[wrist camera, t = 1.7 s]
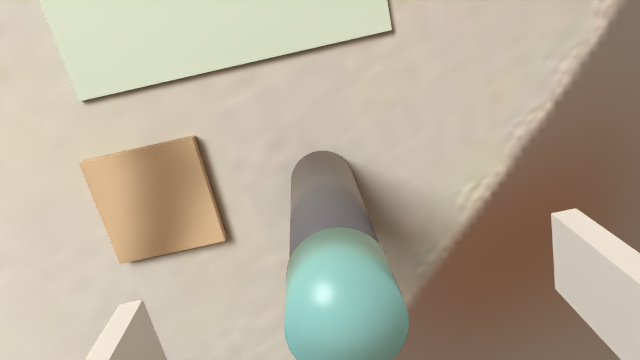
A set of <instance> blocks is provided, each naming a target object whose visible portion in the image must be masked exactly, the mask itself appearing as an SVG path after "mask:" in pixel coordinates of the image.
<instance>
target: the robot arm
mask: <svg viewBox="0 0 640 360" xmlns="http://www.w3.org/2000/svg"><path fill="white" fill-rule="evenodd" d="M551 218H552V237H553V254H554V274H555V289H556V290H557V291H558V292H559V293H560V294H561V295H562V296H563V297H564V299H565V300H566V301H567V302H568V303H569V304H570V305H571V306H572V307H573V308H574V309H575V310H576V311H577V313H578V314H579V315H580V316H581V317H582V318H583V319H584V320H585V321H586V322H587V323H588V325H589V326H590V327H591V328H592V329H593V330H594V331H595V332H596V333H597V334H598V335H599V336H600V338H601V339H602V340H603V341H604V342H605V343H606V344H607V345H608V346H609V347H610V348H611V349H612V350H613V351H614V353H615V354H616V355H617V356H618V357H619V358H620V359H621V360H640V253H638V252H637V251H636V250H634V249H633V248H631V247H630V246H628V245H627V244H626V243H624V242H623V241H621V240H620V239H619V238H617V237H616V236H614V235H613V234H611V233H610V232H608V231H607V230H605V229H604V228H603V227H601V226H600V225H599V224H597V223H596V222H594V221H593V220H592V219H590V218H589V217H587V216H586V215H585V214H583V213H582V212H580V211H579V210H577V209H571V210H566V211H561V212H556V213H552V214H551ZM85 360H167V359H166V356H165V354H164V351H163V349H162V346H161V344H160V341H159V339H158V337H157V334H156V332H155V329H154V327H153V324H152V322H151V319H150V317H149V314H148V312H147V309H146V307H145V304H144V302H143V300H138V301H133V302H128V303H124V304H119V306H118V308H117V309H116V311H115V312H114V314H113V316H112V317H111V319H110V320H109V322H108V324H107V325H106V327H105V328H104V330H103V331H102V333H101V335H100V336H99V338H98V339H97V341H96V343H95V344H94V346H93V347H92V349H91V351H90V352H89V354H88V355H87V357H86V359H85Z"/></svg>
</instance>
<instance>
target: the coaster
mask: <svg viewBox="0 0 640 360" xmlns="http://www.w3.org/2000/svg"><path fill="white" fill-rule="evenodd" d="M79 164H80V167H81V169H82V172H83V174H84V177H85V179H86V182H87V184H88V186H89V189H90V191H91V194H92V196H93V199H94V201H95V204H96V206H97V209H98V211H99V213H100V216H101V218H102V221H103V223H104V226H105V228H106V231H107V233H108V236H109V238H110V240H111V243H112V245H113V248H114V250H115V253H116V255H117V258H118V260H119V262H120V264H123V263H127V262H132V261H136V260H141V259H146V258H150V257H155V256H159V255H164V254H168V253H173V252H177V251H182V250H186V249H191V248H196V247H200V246H205V245H209V244H214V243H218V242H223V241H225V239H226V234H225V231H224V227H223V224H222V221H221V218H220V215H219V212H218V208H217V205H216V202H215V199H214V196H213V192H212V189H211V186H210V183H209V180H208V177H207V173H206V170H205V167H204V164H203V161H202V157H201V154H200V151H199V148H198V145H197V142H196V138H195V135H194V136H190V137H186V138H181V139H177V140H172V141H168V142H163V143H159V144H154V145H150V146H146V147H141V148H137V149H132V150H128V151H123V152H119V153H115V154H110V155H106V156H101V157H97V158H92V159H88V160H84V161H82V162H81V163H79Z"/></svg>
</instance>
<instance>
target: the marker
mask: <svg viewBox="0 0 640 360" xmlns="http://www.w3.org/2000/svg"><path fill="white" fill-rule="evenodd" d="M408 329H409V317H408V312H407V308H406V306H405V303H404V300H403V298H402V295H401V293H400V290H399V287H398V285H397V282H396V280H395V277H394V274H393V272H392V269H391V267H390V264H389V261H388V259H387V256H386V254H385V252H384V250H383V249H382V247H381V246H380V245H379V243H378V240H377V238H376V235H375V232H374V229H373V227H372V224H371V221H370V219H369V216H368V213H367V211H366V208H365V205H364V203H363V200H362V197H361V195H360V192H359V189H358V186H357V184H356V181H355V178H354V176H353V173H352V170H351V168H350V166H349V164H348V163H347V162H346V161H345V160H344V159H343V158H342V157H341V156H339V155H337V154H335V153H333V152H329V151H317V152H313V153H310V154H308V155H306V156H305V157H303V158H302V159H301V160H300V161H299V162H298V163H297V164H296V166H295V168H294V170H293V173H292V178H291V217H290V259H289V262H288V266H287V272H286V299H285V337H286V342H287V344H288V347H289V349H290V351H291V353H292V354H293V355H294V357H295V358H296V359H297V360H392V359H393V358H394V357H395V356H396V355H397V354H398V353H399V351H400V350H401V348H402V346H403V345H404V343H405V340H406V337H407V334H408Z"/></svg>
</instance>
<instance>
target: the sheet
mask: <svg viewBox="0 0 640 360" xmlns="http://www.w3.org/2000/svg"><path fill="white" fill-rule="evenodd" d="M39 2H40V5H41V7H42V10H43V12H44V15H45V18H46V20H47V23H48V25H49V28H50V30H51V33H52V35H53V38H54V41H55V43H56V46H57V48H58V51H59V53H60V56H61V59H62V61H63V64H64V66H65V69H66V71H67V74H68V76H69V79H70V82H71V84H72V87H73V89H74V92H75V94H76V97H77V100H78V102H79V101H83V100H88V99H92V98H96V97H101V96H105V95H109V94H114V93H118V92H123V91H127V90H131V89H136V88H140V87H144V86H149V85H153V84H158V83H162V82H166V81H171V80H175V79H179V78H184V77H188V76H193V75H197V74H201V73H206V72H210V71H215V70H219V69H223V68H228V67H232V66H236V65H241V64H245V63H250V62H254V61H258V60H263V59H267V58H271V57H276V56H280V55H285V54H289V53H293V52H298V51H302V50H306V49H311V48H315V47H320V46H324V45H328V44H333V43H337V42H341V41H346V40H350V39H355V38H359V37H363V36H368V35H372V34H376V33H381V32H385V31H390V30H392V27H391V21H390V14H389V8H388V2H387V0H39Z"/></svg>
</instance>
